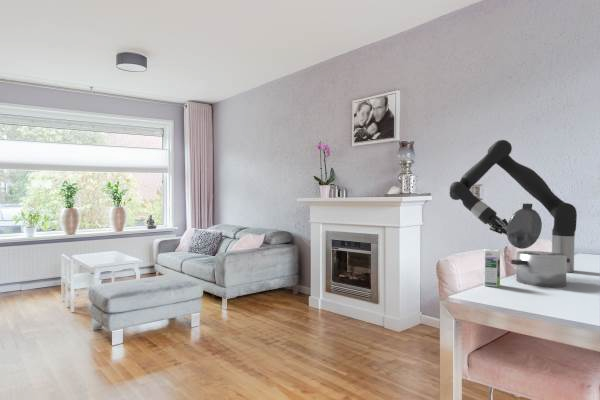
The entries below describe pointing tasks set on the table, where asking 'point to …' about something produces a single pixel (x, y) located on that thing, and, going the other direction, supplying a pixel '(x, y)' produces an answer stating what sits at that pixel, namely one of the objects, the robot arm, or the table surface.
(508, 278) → the table surface
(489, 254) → the syrup box
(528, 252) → the pot
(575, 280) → the table surface
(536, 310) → the table surface
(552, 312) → the table surface
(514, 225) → the lid
